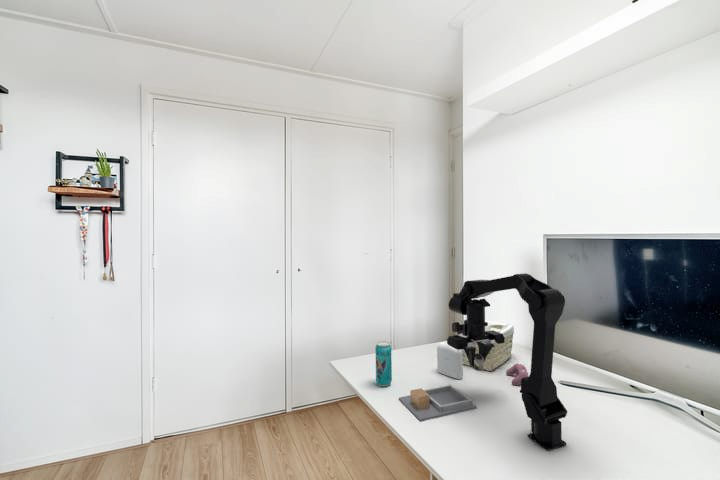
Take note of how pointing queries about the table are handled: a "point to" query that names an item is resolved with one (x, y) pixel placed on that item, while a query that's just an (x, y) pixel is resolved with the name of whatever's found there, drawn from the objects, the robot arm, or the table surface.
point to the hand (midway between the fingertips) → (476, 365)
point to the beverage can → (383, 363)
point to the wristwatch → (480, 362)
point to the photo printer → (449, 360)
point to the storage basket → (499, 350)
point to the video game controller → (517, 373)
